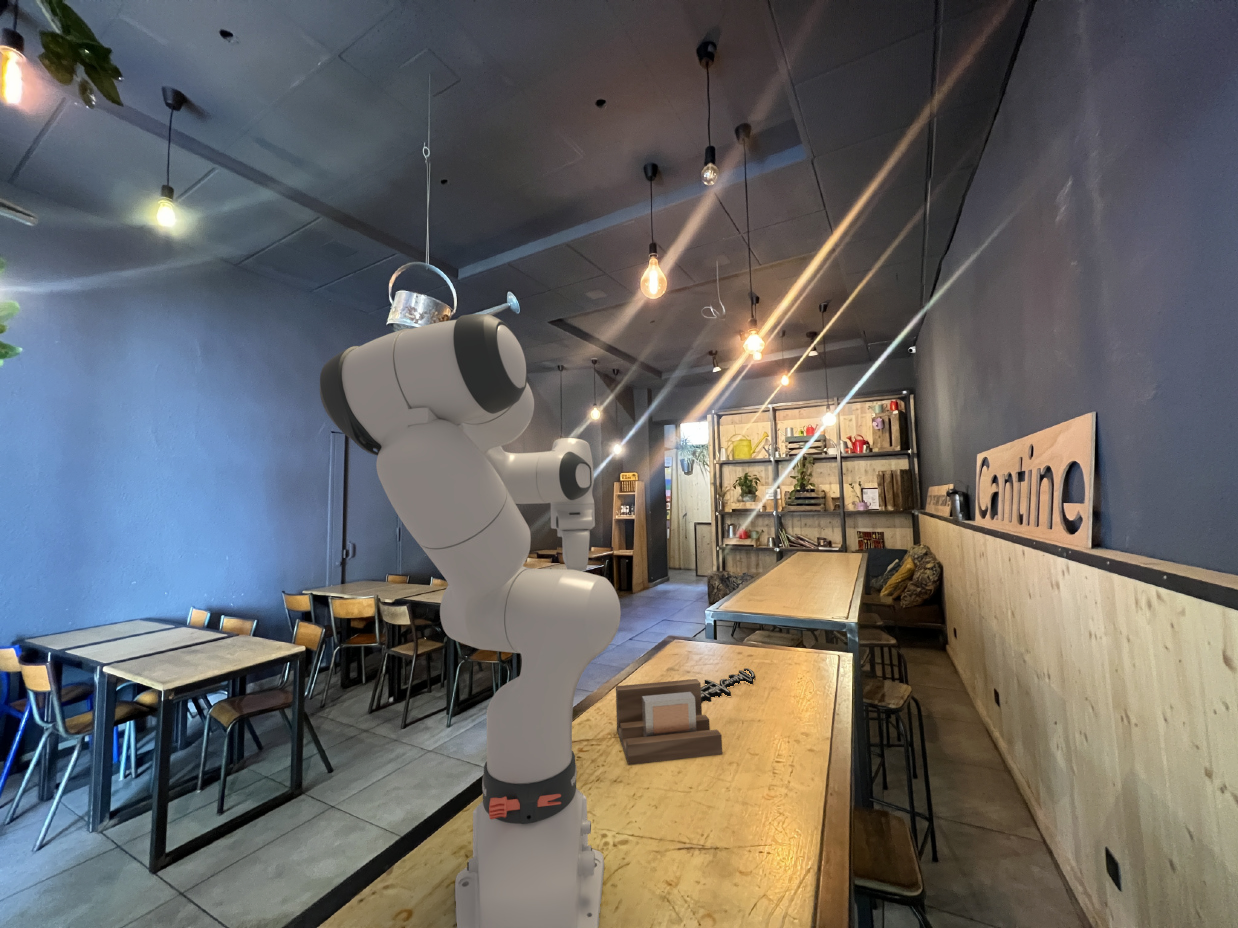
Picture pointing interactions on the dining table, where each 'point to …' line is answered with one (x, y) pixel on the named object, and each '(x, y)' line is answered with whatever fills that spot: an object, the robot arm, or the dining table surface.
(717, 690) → the nameplate
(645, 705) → the light grey rectangular block
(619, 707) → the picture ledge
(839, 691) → the dining table surface
